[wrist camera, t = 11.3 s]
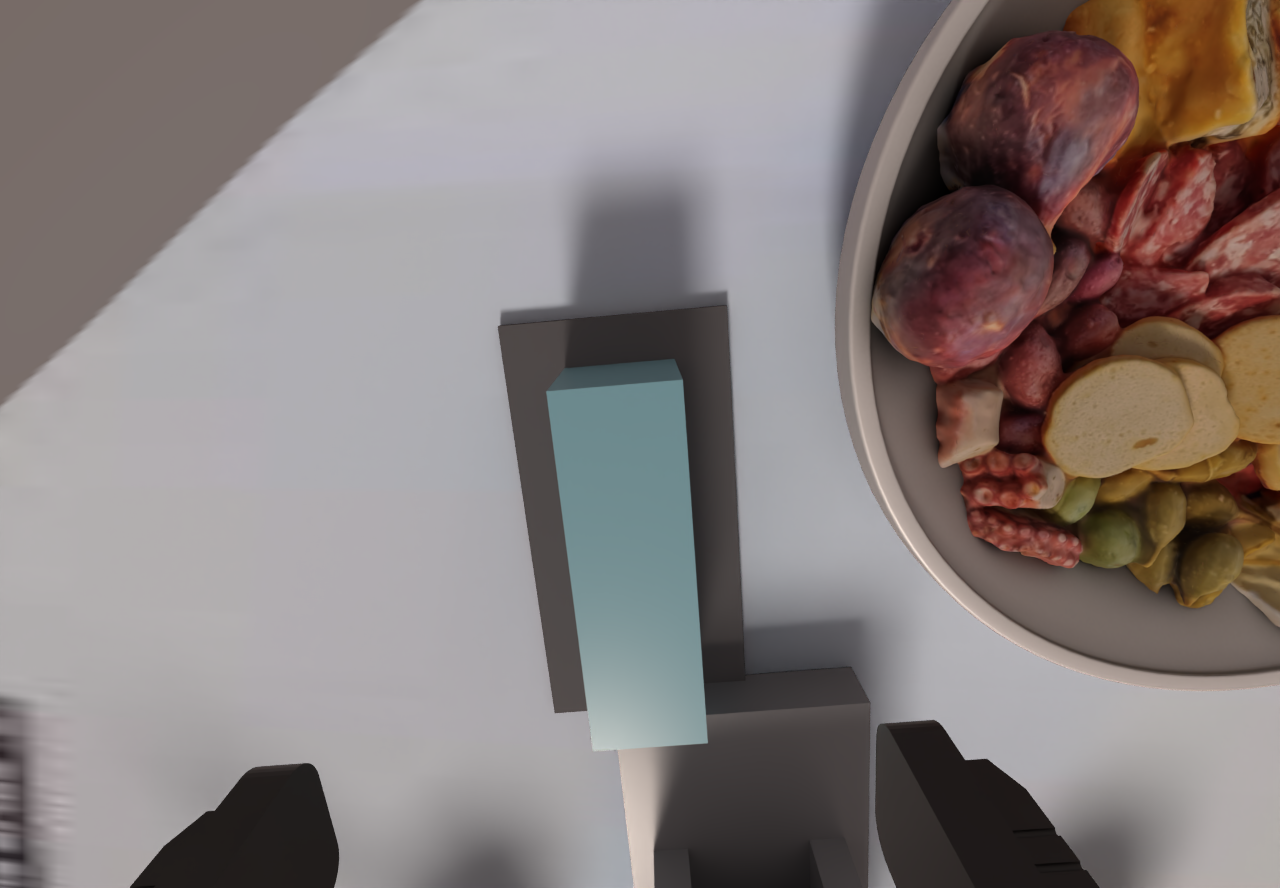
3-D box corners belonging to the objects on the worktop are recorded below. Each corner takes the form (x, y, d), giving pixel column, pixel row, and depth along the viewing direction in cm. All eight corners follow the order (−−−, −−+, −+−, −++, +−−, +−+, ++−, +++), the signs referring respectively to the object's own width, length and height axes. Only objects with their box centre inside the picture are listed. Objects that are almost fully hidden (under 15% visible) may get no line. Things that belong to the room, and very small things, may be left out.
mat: (725, 305, 24) (726, 305, 24) (745, 693, 29) (746, 698, 29) (499, 325, 25) (497, 326, 24) (556, 707, 29) (554, 713, 29)
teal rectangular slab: (674, 358, 25) (682, 379, 20) (696, 663, 28) (707, 743, 23) (564, 368, 25) (546, 391, 20) (600, 670, 28) (592, 751, 24)
